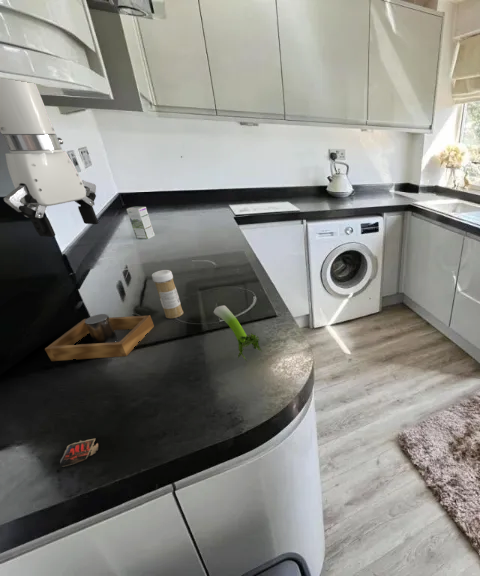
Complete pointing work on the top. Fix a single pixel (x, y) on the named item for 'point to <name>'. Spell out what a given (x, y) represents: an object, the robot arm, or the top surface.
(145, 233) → the syrup box
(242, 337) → the celery stalk
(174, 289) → the sprinkles bottle
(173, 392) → the top surface
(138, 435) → the top surface
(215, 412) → the top surface
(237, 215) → the top surface
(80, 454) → the matchbox
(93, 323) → the gray metal cup
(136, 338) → the wooden frame
